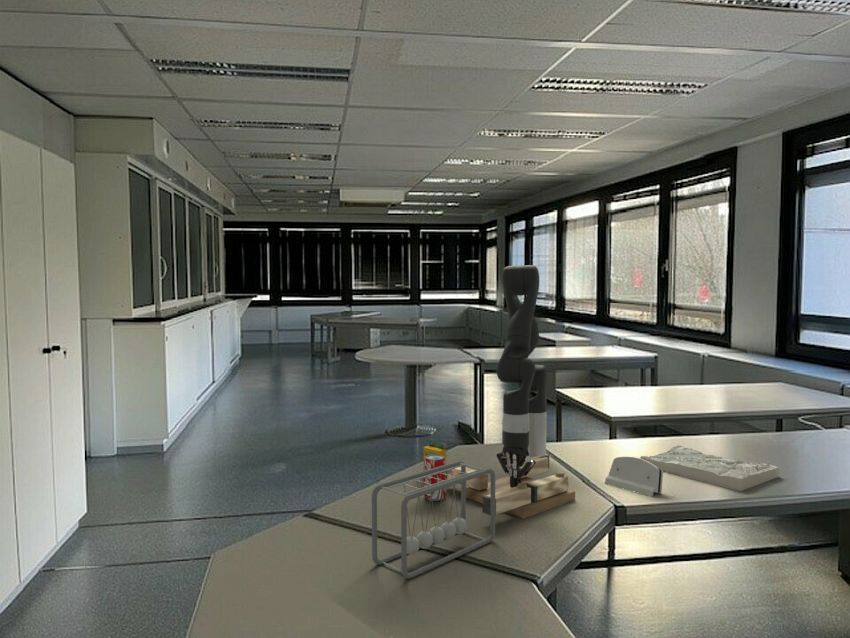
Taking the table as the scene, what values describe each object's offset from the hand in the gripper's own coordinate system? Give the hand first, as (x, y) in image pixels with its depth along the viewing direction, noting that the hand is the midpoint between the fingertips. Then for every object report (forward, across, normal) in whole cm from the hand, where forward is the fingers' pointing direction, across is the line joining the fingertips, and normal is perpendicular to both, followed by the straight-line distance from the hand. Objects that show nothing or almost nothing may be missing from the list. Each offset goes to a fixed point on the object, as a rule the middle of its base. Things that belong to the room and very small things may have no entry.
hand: (515, 489), depth 177 cm
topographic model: (+4, +22, +69) cm, 73 cm away
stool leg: (+1, +7, +5) cm, 9 cm away
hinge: (+4, +16, +36) cm, 40 cm away
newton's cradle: (+4, +11, -40) cm, 41 cm away
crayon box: (+4, -31, -3) cm, 31 cm away
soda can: (+4, -17, -15) cm, 23 cm away
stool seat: (+3, -6, +3) cm, 7 cm away
